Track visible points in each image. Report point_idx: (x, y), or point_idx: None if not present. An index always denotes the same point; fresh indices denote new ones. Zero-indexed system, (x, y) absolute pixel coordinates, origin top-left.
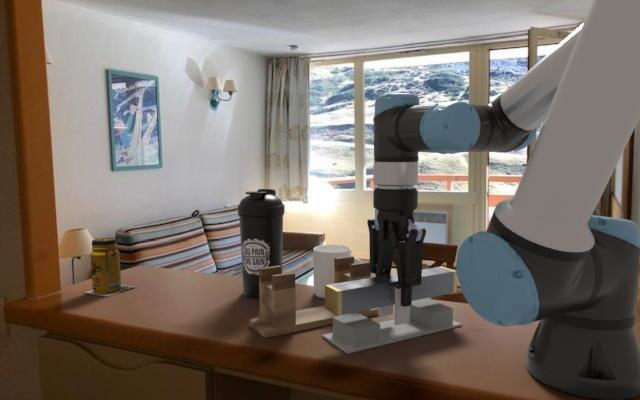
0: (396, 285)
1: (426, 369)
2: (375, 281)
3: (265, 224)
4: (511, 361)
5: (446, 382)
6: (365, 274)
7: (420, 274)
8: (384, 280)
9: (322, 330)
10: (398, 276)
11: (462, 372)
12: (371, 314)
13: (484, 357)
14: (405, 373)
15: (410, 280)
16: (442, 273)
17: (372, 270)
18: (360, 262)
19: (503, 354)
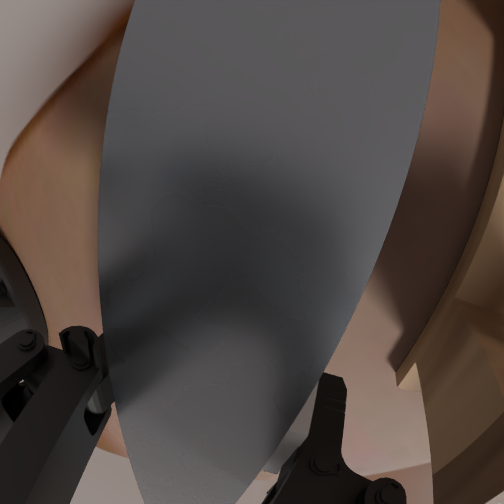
0: (83, 343)
1: (69, 136)
2: (179, 330)
3: None
4: (42, 283)
5: (36, 127)
6: (454, 466)
7: (7, 400)
8: (163, 386)
9: (469, 122)
10: (69, 402)
11: (41, 183)
12: (411, 353)
13: (60, 272)
14: (82, 83)
15: (1, 345)
16: (142, 497)
17: (377, 495)
18: (502, 502)
19: (60, 303)
